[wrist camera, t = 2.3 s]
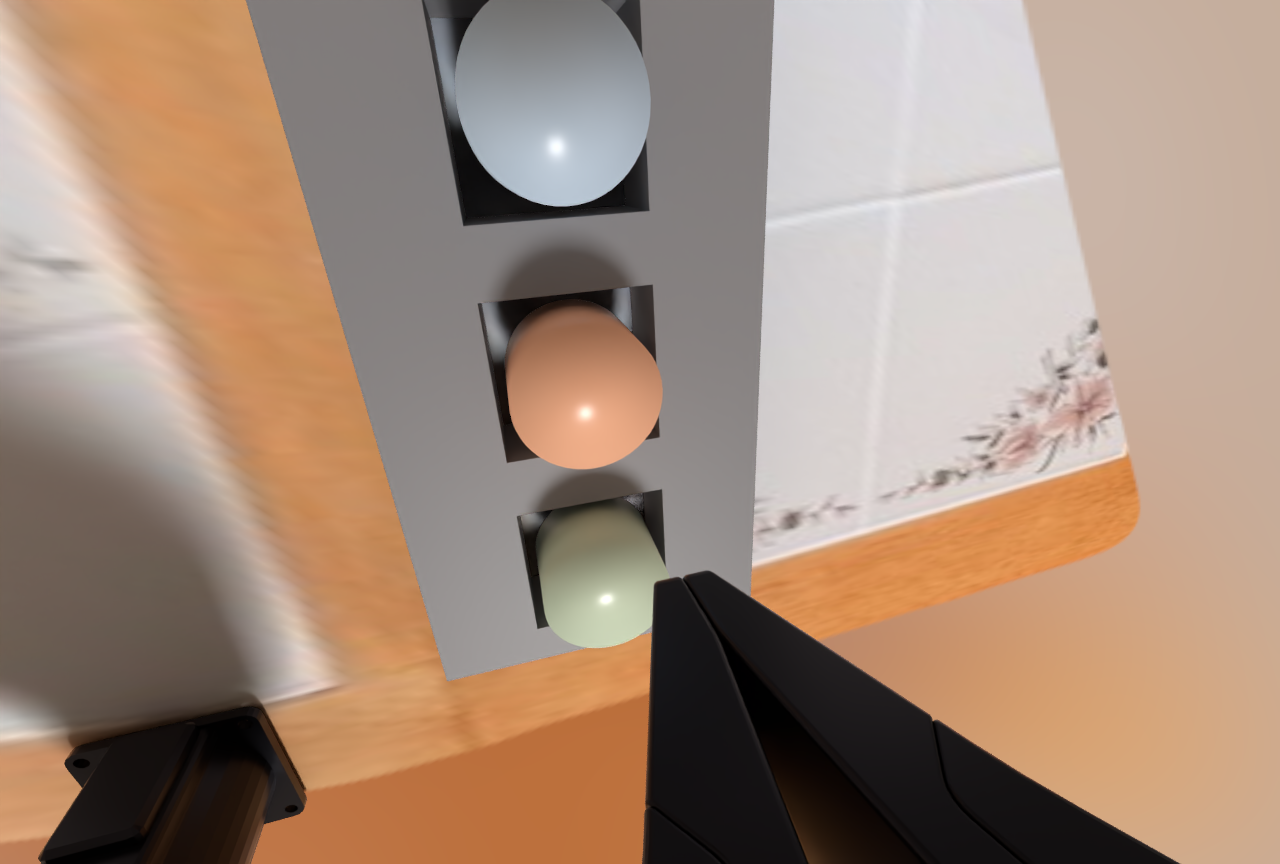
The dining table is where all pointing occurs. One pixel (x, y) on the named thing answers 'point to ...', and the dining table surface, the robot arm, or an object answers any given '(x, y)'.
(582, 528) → the button sage
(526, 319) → the button terracotta
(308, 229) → the dining table surface
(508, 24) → the button blue
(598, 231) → the button panel
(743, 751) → the robot arm
